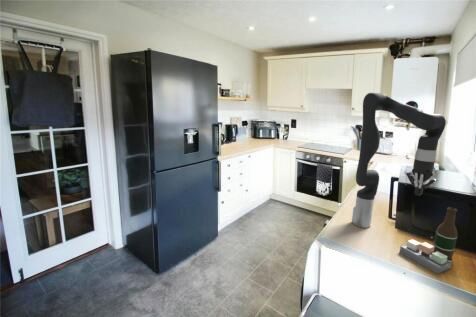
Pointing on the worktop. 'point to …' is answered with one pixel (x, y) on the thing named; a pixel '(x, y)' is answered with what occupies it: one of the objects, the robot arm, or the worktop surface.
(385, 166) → the worktop surface
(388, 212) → the worktop surface
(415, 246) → the key ivory
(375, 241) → the worktop surface
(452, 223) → the beer bottle
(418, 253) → the grey tray
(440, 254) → the key sage
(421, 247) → the key terracotta
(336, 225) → the worktop surface
